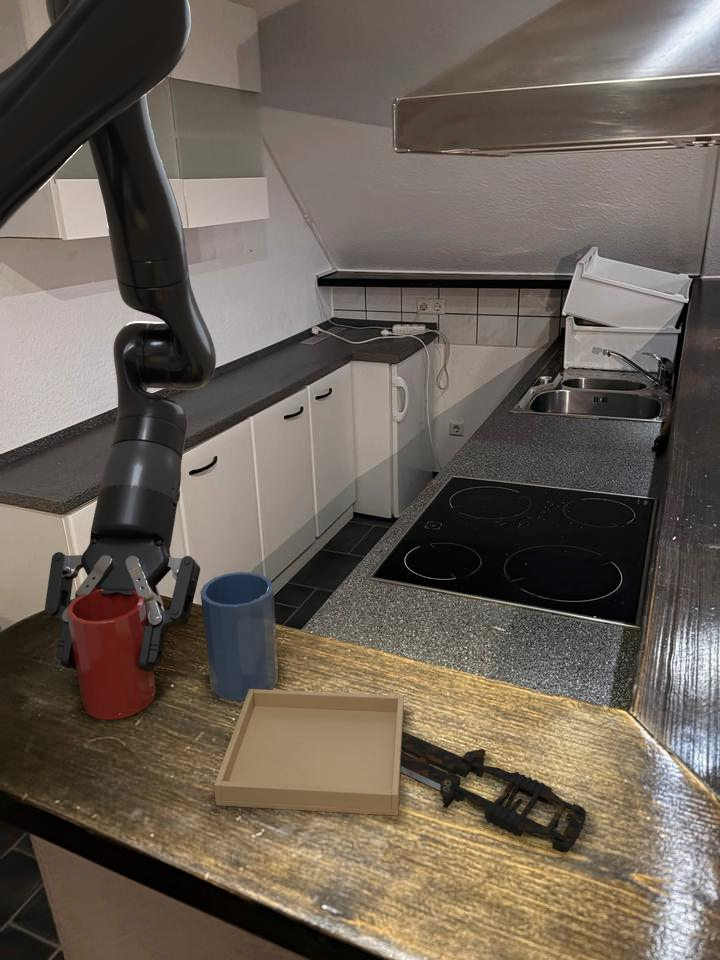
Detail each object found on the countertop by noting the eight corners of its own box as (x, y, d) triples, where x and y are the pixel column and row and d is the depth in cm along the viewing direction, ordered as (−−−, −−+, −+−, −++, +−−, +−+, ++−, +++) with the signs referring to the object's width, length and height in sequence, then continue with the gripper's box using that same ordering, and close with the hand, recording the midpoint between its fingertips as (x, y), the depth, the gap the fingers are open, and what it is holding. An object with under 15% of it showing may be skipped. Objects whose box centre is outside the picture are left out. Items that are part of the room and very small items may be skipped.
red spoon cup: (71, 718, 69) (53, 622, 65) (100, 675, 75) (86, 585, 71) (141, 721, 68) (127, 624, 64) (165, 678, 74) (153, 587, 70)
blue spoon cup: (202, 699, 71) (192, 605, 67) (220, 659, 77) (211, 571, 73) (270, 702, 70) (264, 607, 67) (283, 661, 76) (278, 573, 73)
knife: (294, 725, 68) (294, 712, 68) (342, 690, 73) (342, 678, 72) (554, 875, 53) (555, 860, 52) (594, 819, 57) (595, 805, 57)
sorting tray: (215, 805, 59) (213, 785, 58) (250, 707, 70) (248, 688, 69) (397, 816, 57) (398, 795, 57) (403, 713, 69) (403, 695, 68)
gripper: (51, 480, 72) (9, 657, 65) (200, 483, 71) (173, 664, 64) (83, 509, 79) (48, 673, 72) (219, 512, 78) (197, 679, 71)
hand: (107, 668), depth 68 cm, fingers closed on red spoon cup, 6 cm apart
